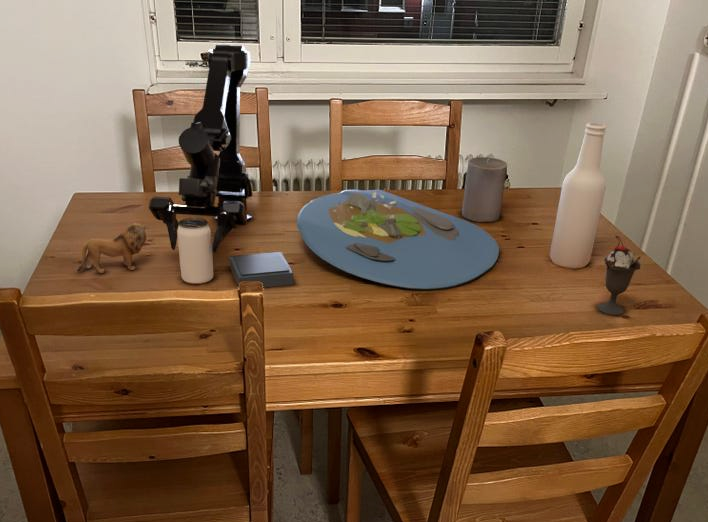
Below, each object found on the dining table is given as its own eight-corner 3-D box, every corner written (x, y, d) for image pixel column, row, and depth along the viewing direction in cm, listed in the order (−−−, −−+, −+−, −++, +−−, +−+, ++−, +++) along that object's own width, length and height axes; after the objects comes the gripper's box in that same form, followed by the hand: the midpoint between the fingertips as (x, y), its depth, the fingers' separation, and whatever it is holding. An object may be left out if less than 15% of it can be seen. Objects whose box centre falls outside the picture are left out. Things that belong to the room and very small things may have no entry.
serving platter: (525, 271, 172) (541, 223, 165) (408, 331, 144) (421, 276, 137) (383, 197, 194) (391, 152, 187) (257, 237, 166) (261, 186, 159)
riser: (230, 268, 156) (229, 254, 154) (281, 263, 159) (281, 250, 157) (239, 290, 147) (238, 276, 145) (293, 284, 150) (293, 271, 148)
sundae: (587, 301, 148) (603, 231, 140) (620, 301, 148) (637, 231, 140) (600, 317, 142) (617, 244, 134) (633, 317, 143) (652, 244, 135)
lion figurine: (146, 258, 158) (142, 218, 154) (152, 267, 154) (147, 227, 150) (75, 268, 153) (68, 227, 148) (79, 278, 149) (72, 236, 144)
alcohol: (546, 265, 163) (572, 126, 147) (551, 250, 170) (576, 117, 154) (587, 272, 160) (617, 132, 145) (590, 257, 167) (620, 122, 152)
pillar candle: (472, 206, 194) (479, 149, 186) (506, 215, 189) (515, 157, 181) (454, 216, 187) (461, 157, 179) (489, 225, 182) (497, 165, 174)
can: (206, 286, 148) (202, 230, 141) (176, 282, 149) (170, 226, 142) (218, 273, 153) (214, 218, 147) (188, 270, 154) (184, 215, 148)
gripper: (146, 156, 143) (134, 231, 139) (241, 161, 142) (232, 237, 138) (162, 183, 153) (151, 253, 150) (251, 188, 152) (242, 259, 149)
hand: (193, 250), depth 146 cm, fingers open, 8 cm apart
